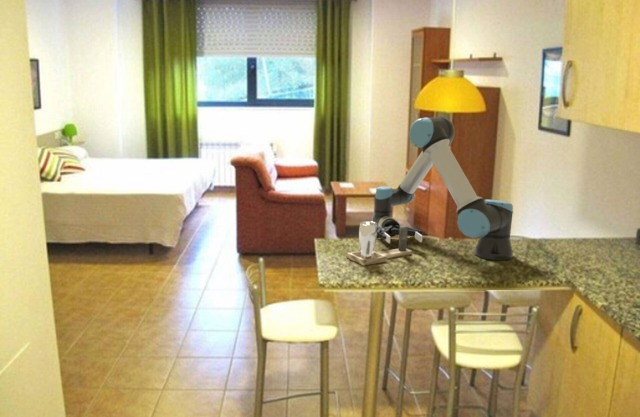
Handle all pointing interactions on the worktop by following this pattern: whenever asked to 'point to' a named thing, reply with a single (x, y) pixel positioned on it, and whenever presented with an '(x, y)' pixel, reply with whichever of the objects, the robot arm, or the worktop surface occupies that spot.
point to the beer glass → (367, 239)
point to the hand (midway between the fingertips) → (405, 239)
